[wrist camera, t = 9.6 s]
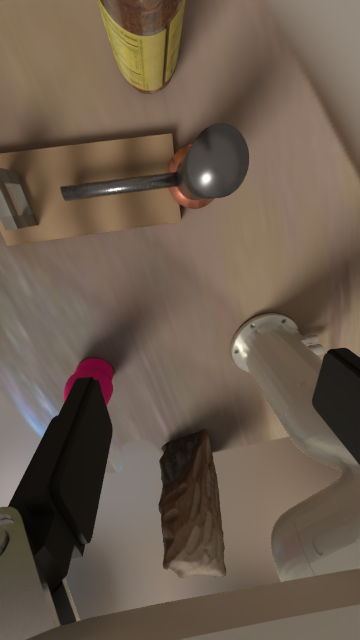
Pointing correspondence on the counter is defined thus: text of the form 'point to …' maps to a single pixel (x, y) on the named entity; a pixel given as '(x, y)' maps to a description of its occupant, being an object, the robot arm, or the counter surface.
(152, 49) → the sauce bottle
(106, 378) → the pepper mill
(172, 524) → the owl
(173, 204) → the board
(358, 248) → the counter surface
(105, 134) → the counter surface
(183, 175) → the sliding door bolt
